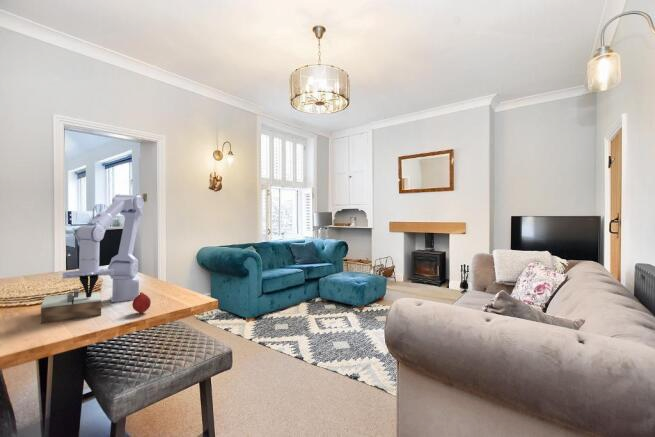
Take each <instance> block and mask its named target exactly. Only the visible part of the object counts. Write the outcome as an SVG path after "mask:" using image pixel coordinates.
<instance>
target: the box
mask: <svg viewBox="0 0 655 437" xmlns="http://www.w3.org/2000/svg"><path fill="white" fill-rule="evenodd" d="M73 301H74V295H73V299H72V304H71V305H62V306H53V307H45V308H41V307H40V324H48V323H49V324H50V323H56V322H62V321H63V322H65V321H70V320H71V321H72V320H76V319H77V320H78V319H85V318H93V317H99V316H100V317H101V316H102V300H101V301H97V302H88V303H79V304H73Z"/></svg>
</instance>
